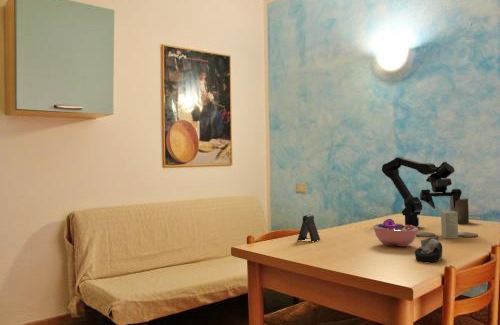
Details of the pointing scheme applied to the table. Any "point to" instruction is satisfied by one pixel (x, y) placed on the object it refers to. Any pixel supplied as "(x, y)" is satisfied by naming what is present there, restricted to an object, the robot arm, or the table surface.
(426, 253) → the caster wheel
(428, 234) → the coaster
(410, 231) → the cell model
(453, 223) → the skincare box
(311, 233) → the black folding stand
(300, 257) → the table surface
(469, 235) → the walnut coaster
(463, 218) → the pillar candle
